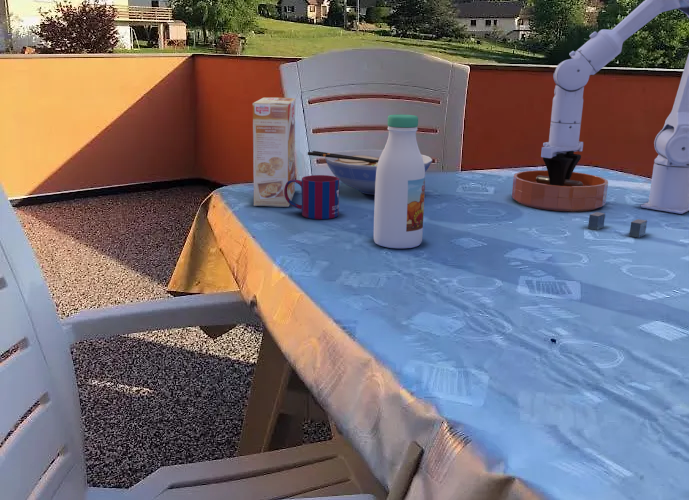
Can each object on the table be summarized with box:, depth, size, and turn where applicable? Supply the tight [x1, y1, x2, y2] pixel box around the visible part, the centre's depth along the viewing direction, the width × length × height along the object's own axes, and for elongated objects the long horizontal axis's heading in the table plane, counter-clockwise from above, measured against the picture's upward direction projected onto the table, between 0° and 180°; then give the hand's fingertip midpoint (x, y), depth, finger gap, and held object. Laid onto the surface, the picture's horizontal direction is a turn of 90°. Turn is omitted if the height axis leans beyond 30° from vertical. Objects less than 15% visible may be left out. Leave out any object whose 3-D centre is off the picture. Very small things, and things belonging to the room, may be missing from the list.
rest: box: [587, 211, 648, 239], centre depth 122 cm, size 9×3×2 cm, turn 48°
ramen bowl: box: [307, 149, 433, 196], centre depth 150 cm, size 25×23×8 cm
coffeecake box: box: [252, 97, 296, 208], centre depth 139 cm, size 15×7×20 cm, turn 179°
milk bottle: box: [373, 114, 426, 249], centre depth 110 cm, size 8×8×20 cm
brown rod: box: [536, 175, 583, 186], centre depth 143 cm, size 10×2×2 cm, turn 48°
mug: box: [284, 174, 340, 220], centre depth 129 cm, size 7×10×7 cm
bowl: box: [511, 169, 609, 212], centre depth 144 cm, size 18×18×5 cm
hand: (558, 190), depth 143 cm, fingers closed on brown rod, 1 cm apart
